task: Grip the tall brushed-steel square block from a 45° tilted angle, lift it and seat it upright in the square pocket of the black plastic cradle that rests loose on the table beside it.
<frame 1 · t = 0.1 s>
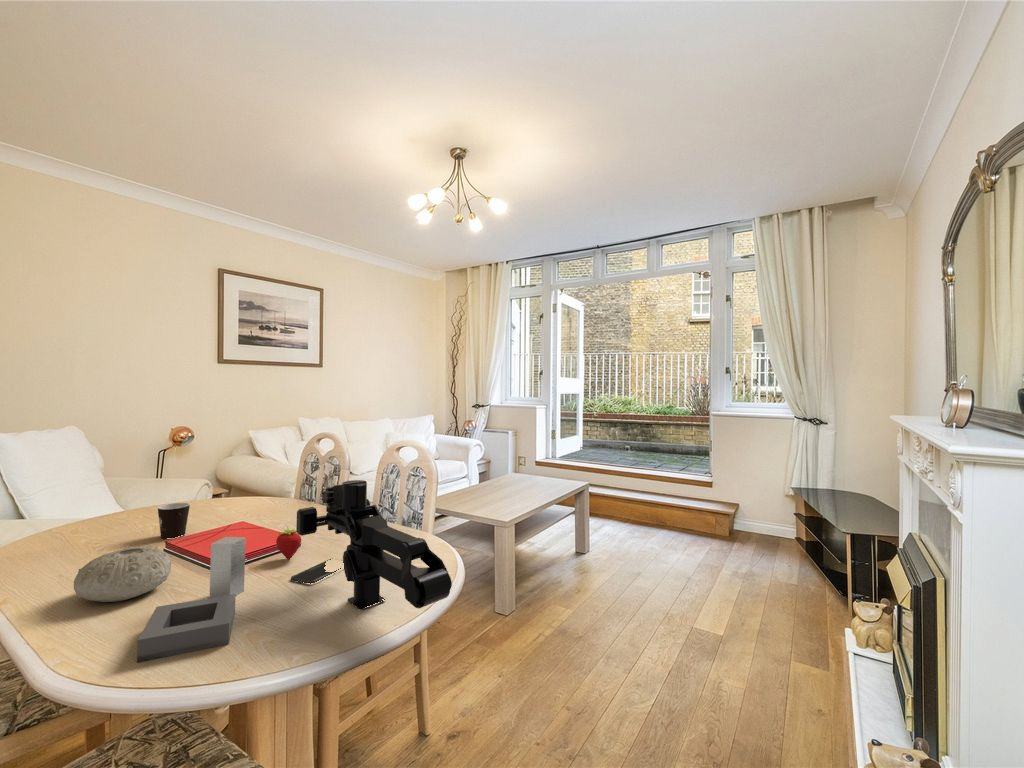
hand: (321, 509, 124), 17 cm above the table, tool horizontal, fingers open, 9 cm apart
coffee mug: (171, 538, 149), on the table
cradle: (191, 634, 90), on the table
strawberry: (288, 560, 131), on the table
phone: (322, 574, 123), on the table
steel block: (227, 595, 108), on the table
decorative shell: (124, 594, 108), on the table
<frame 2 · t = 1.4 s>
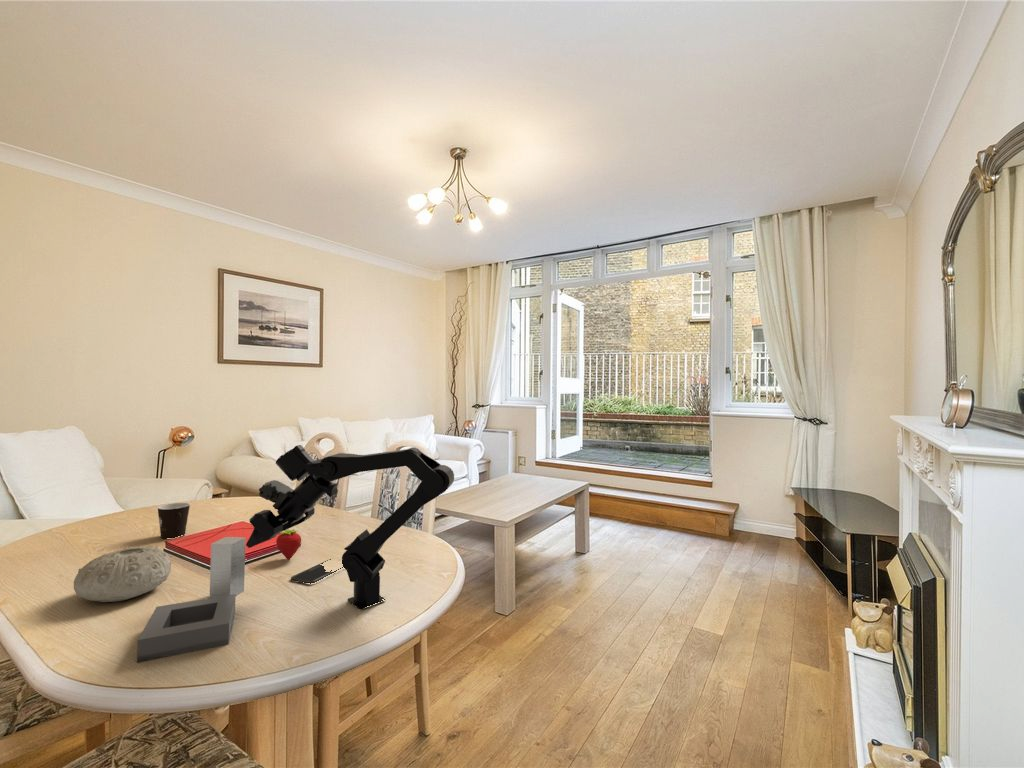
hand: (260, 539, 108), 13 cm above the table, tool tilted 45°, fingers open, 9 cm apart
nothing on the table moved.
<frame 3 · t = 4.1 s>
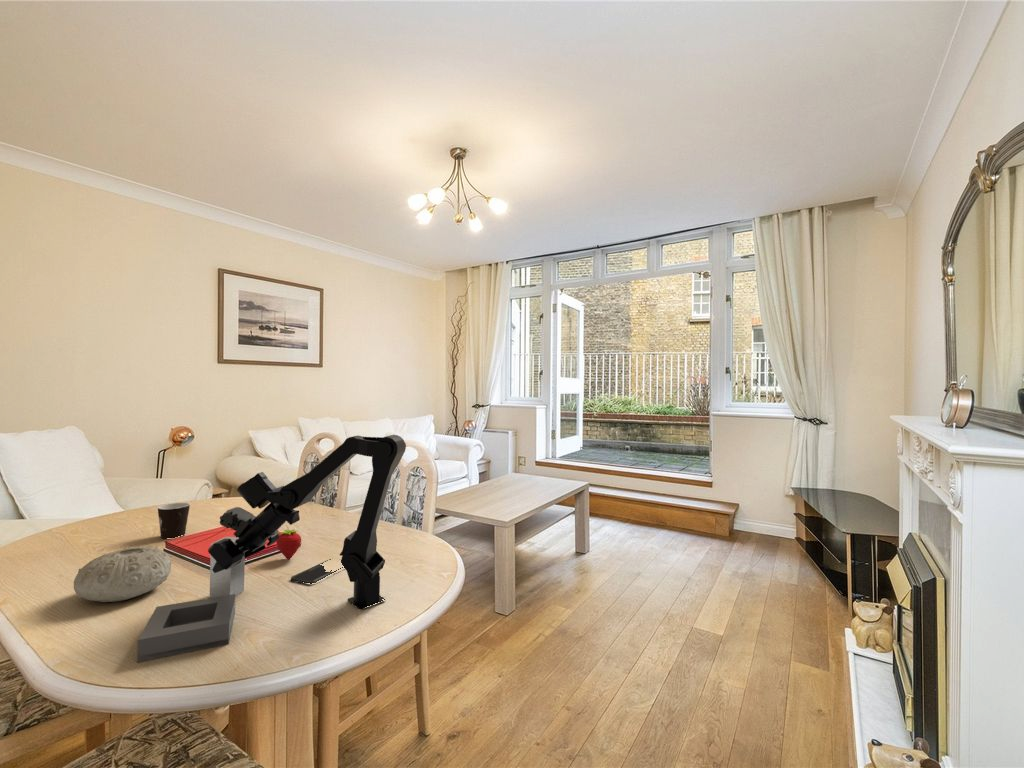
hand: (222, 566, 108), 7 cm above the table, tool tilted 45°, fingers closed on steel block, 5 cm apart
steel block: (227, 595, 108), on the table, touching gripper
everything else where it was.
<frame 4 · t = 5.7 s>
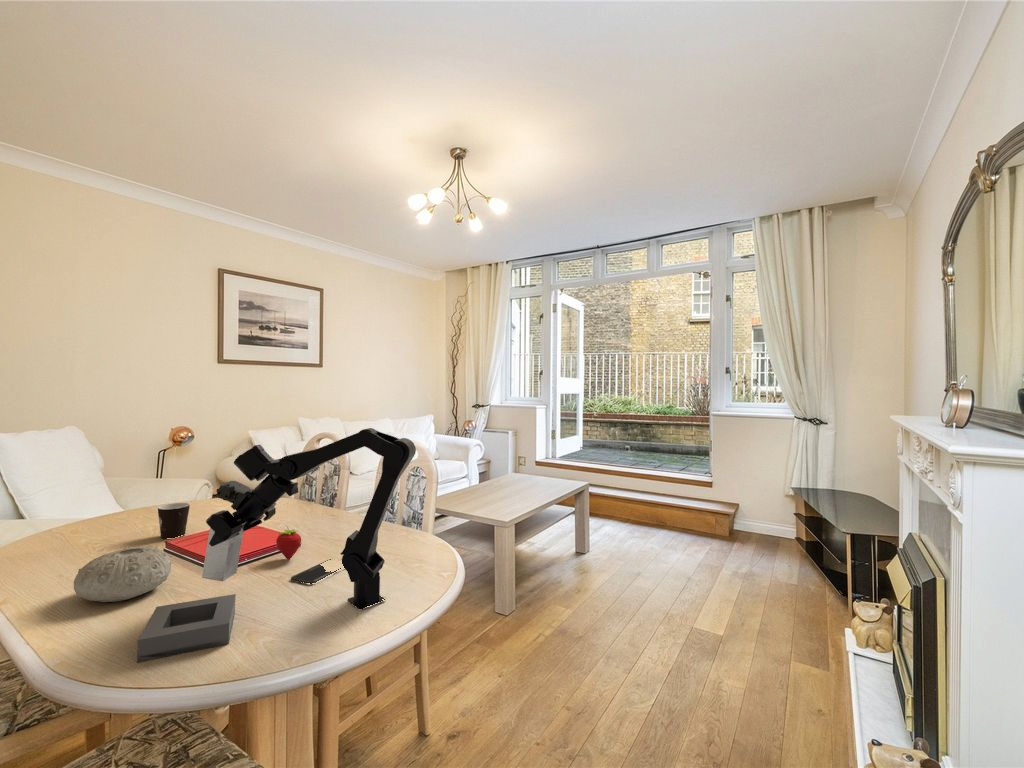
hand: (218, 541, 107), 13 cm above the table, tool tilted 45°, fingers closed on steel block, 5 cm apart
steel block: (219, 575, 107), point 5 cm above the table, tilted 8°, touching gripper
everything else where it was.
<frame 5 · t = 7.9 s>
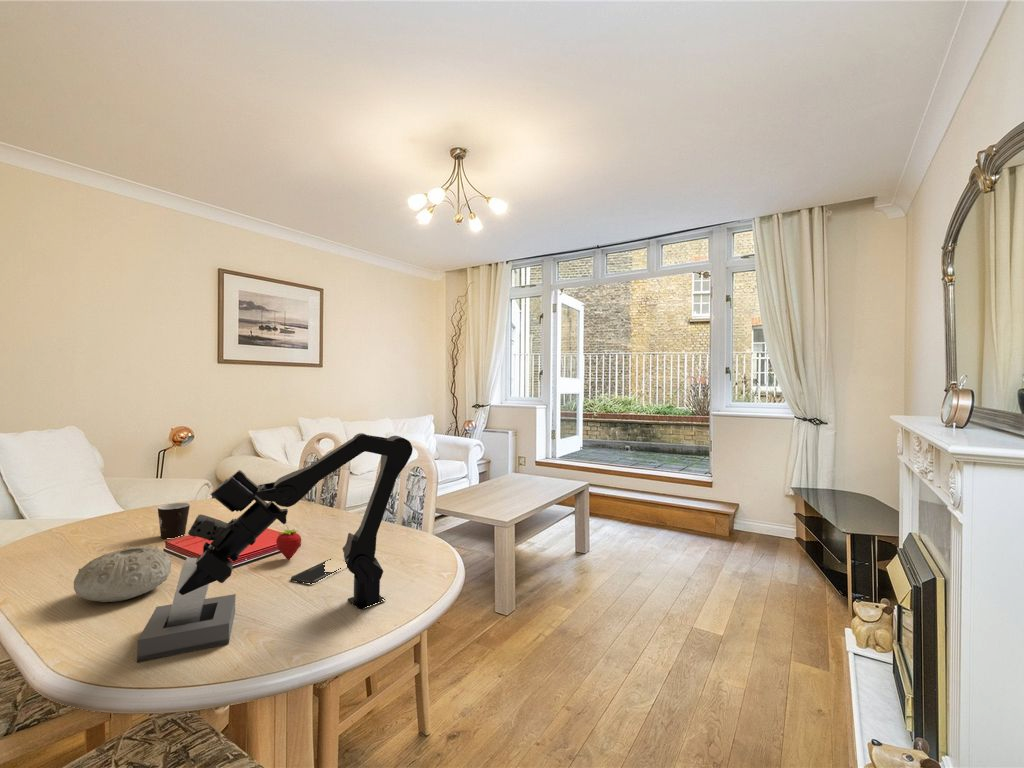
hand: (183, 587, 90), 10 cm above the table, tool tilted 45°, fingers closed on steel block, 5 cm apart
cradle: (191, 634, 90), on the table, touching steel block
steel block: (181, 628, 90), point 1 cm above the table, tilted 12°, touching cradle, gripper
everything else where it was.
when the fingers open (9 cm above the table, at t = 8.3 s): steel block stays where it is, resting on cradle.
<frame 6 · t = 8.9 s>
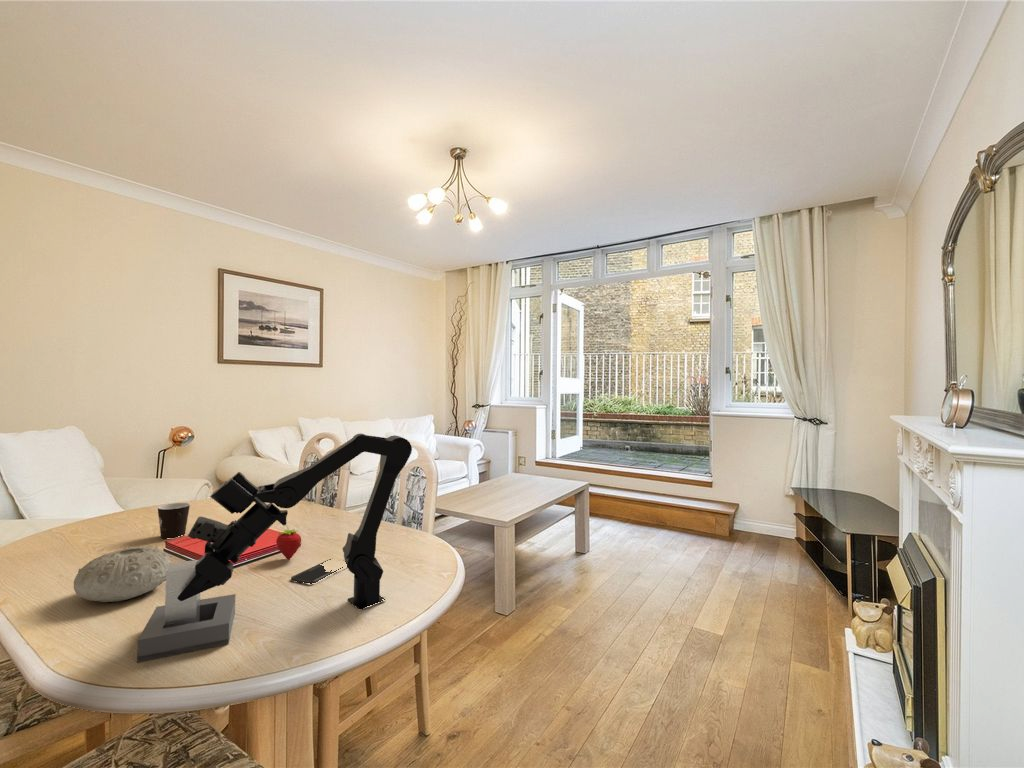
hand: (183, 590, 90), 9 cm above the table, tool tilted 45°, fingers open, 9 cm apart
steel block: (182, 631, 90), point 1 cm above the table, touching cradle
everything else where it was.
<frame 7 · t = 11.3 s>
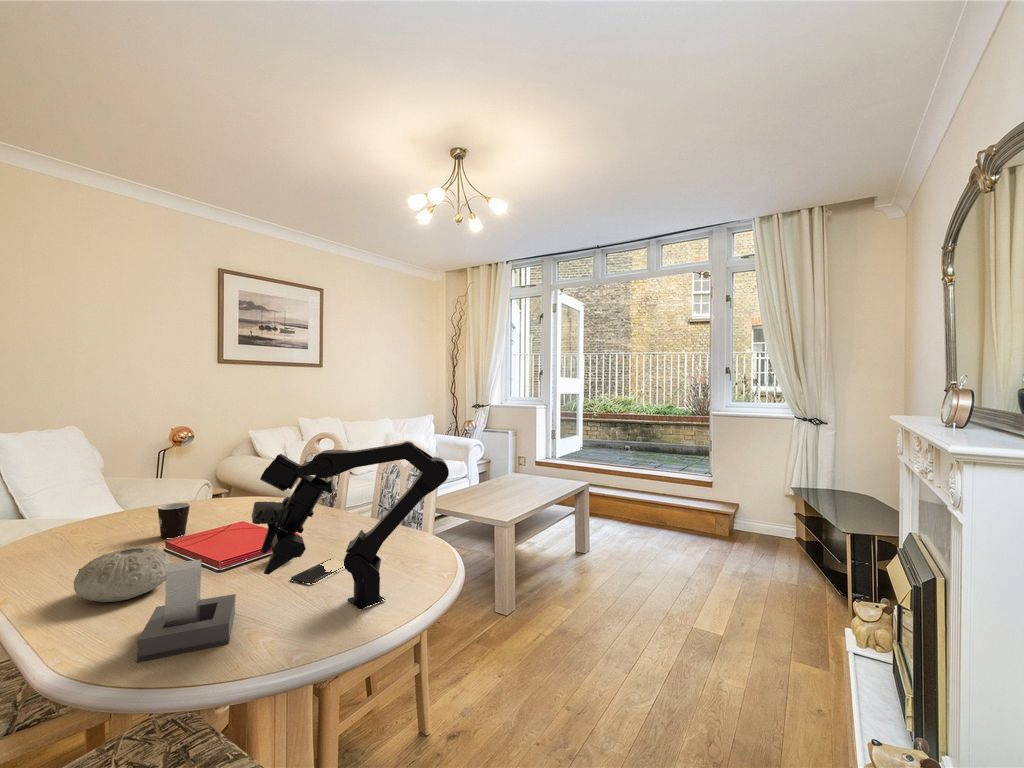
hand: (264, 562, 101), 10 cm above the table, tool tilted 30°, fingers open, 9 cm apart
nothing on the table moved.
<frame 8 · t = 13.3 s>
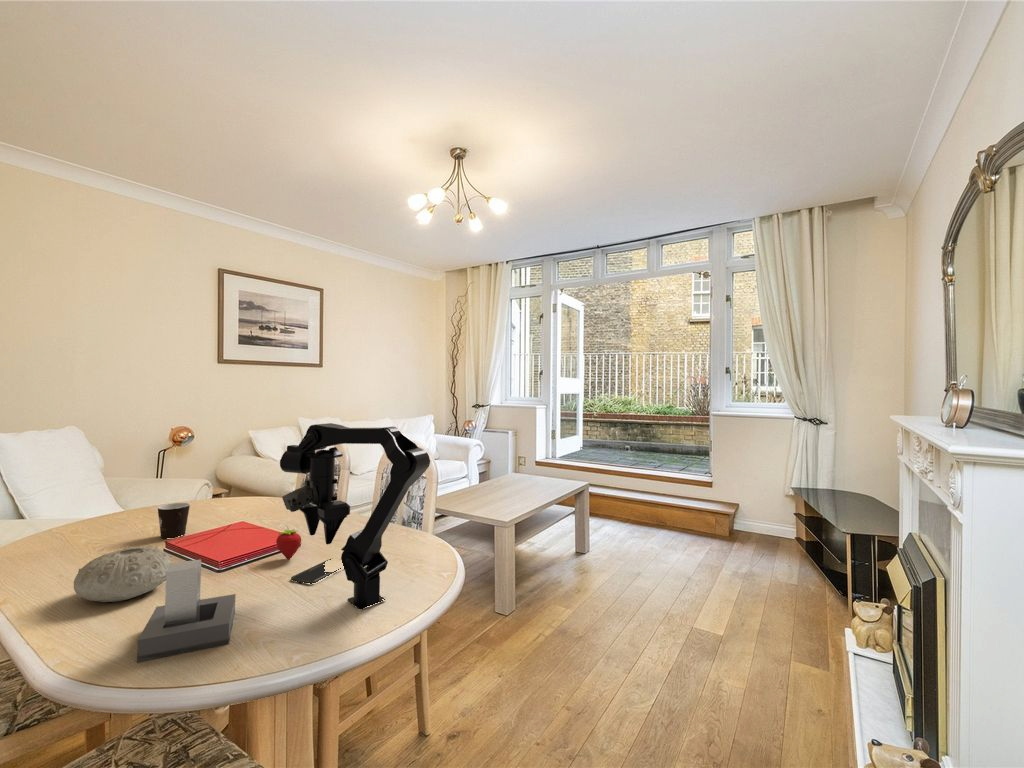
hand: (320, 539, 110), 13 cm above the table, tool pointing down, fingers open, 9 cm apart
nothing on the table moved.
at the end: steel block 1.5 cm off-centre on the cradle, point 1.0 cm above the cradle's base; steel block tilted 0°; the gripper is holding nothing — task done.
